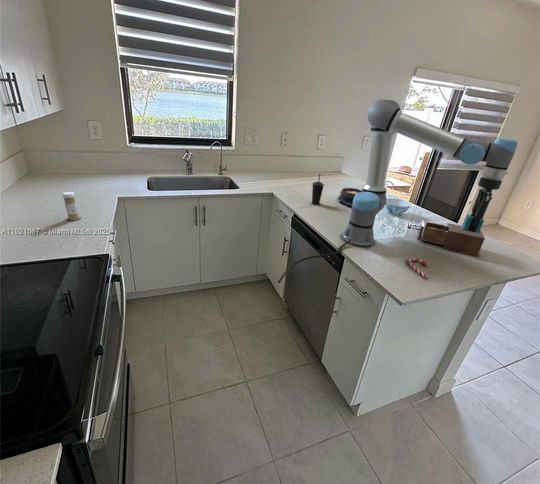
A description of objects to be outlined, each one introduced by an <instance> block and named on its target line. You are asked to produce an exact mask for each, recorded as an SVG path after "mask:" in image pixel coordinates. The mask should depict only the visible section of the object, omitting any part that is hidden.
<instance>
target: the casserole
mask: <svg viewBox="0 0 540 484" xmlns="http://www.w3.org/2000/svg"><path fill="white" fill-rule="evenodd" d="M360 192H362V190H361V189H358V188H352V187H345V188H342V189H341V191H340V192H339V194H340V195H338V197H337V200H338V201H339V202H341V203H343V204H345V205H347V206H350V207H352V205H353V199H354V197H355V195H356V194H357V193H360Z"/></svg>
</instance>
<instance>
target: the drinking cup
mask: <svg viewBox="0 0 540 484" xmlns="http://www.w3.org/2000/svg"><path fill="white" fill-rule="evenodd" d="M320 179H321V173H318V179H317V181H314V182H312V193H311V194H312V195H311V204H312V205H314V206H319V205H320V202H321V198H322V195H323V190H324V187H325V183H323V182H322V181H320Z"/></svg>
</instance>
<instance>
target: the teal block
mask: <svg viewBox="0 0 540 484" xmlns="http://www.w3.org/2000/svg"><path fill="white" fill-rule="evenodd" d="M472 218H473V217H472V215H471V214H466V215H465V218H464V221H463V223H462V225H461V226H462V228H463V230H466V231H468V228H469V226H470V223H471V221H472ZM484 222H485V219H484V218H483V219H480V222H479V224H478V226H477V229H476V231H475V233H479V231H480V230H482V227H483V224H484Z"/></svg>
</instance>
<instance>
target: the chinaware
mask: <svg viewBox="0 0 540 484" xmlns="http://www.w3.org/2000/svg"><path fill="white" fill-rule="evenodd" d="M410 207H411V203H410V202H409V201H406V200H403V199H399V198H386V204H385V208H386V209H387V211H388V213H389V214H390V215H392V216H395V217H396V216H401V215H402V214H405V213H406V212H407V211H408V210H409V209H410Z"/></svg>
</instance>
